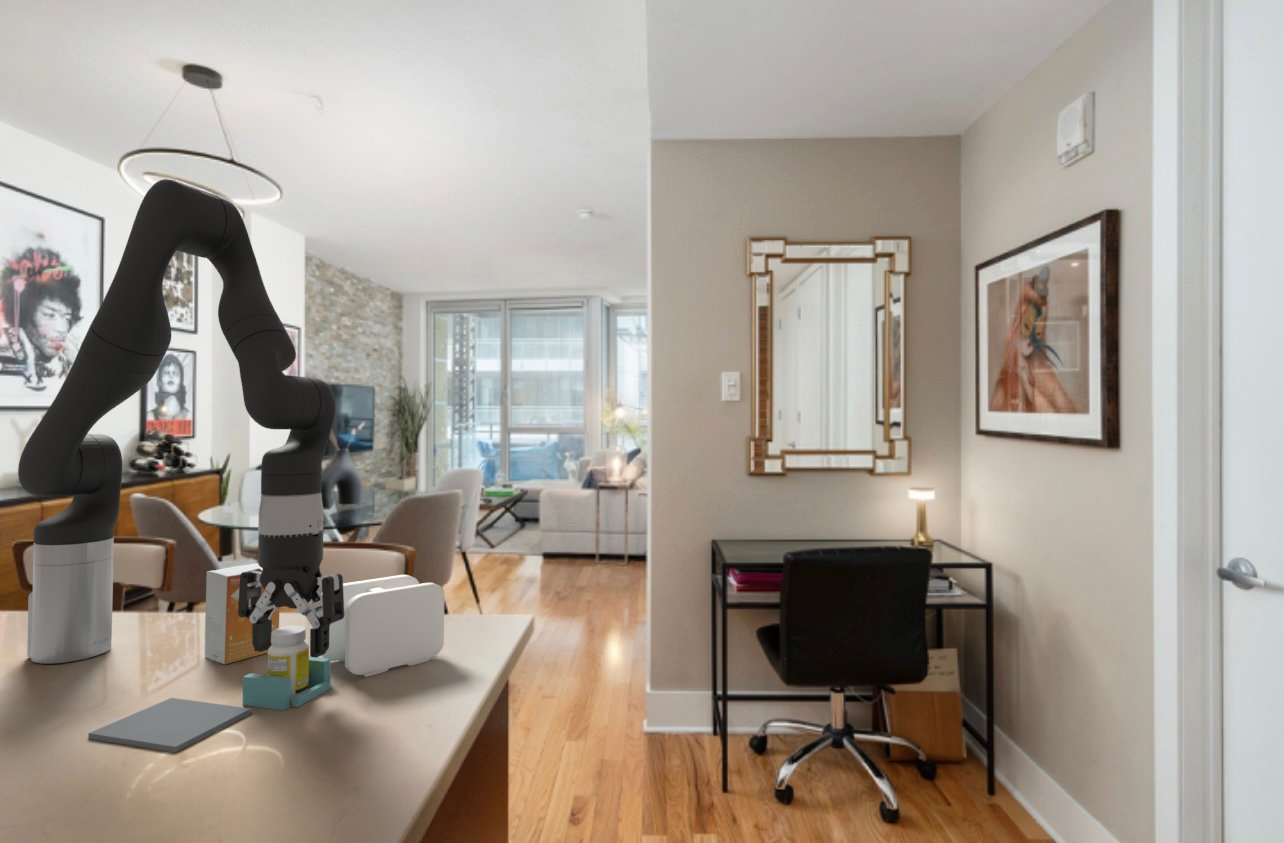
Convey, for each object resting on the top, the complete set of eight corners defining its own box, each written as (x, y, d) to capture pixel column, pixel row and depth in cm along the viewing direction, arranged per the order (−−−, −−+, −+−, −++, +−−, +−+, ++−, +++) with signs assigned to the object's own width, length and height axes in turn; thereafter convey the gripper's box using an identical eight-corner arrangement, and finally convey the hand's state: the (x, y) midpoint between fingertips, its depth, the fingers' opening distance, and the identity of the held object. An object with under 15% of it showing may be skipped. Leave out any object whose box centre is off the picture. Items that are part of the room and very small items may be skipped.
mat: (88, 738, 74) (88, 733, 74) (171, 702, 84) (171, 697, 84) (175, 752, 71) (175, 746, 71) (250, 713, 81) (250, 708, 81)
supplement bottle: (304, 684, 90) (305, 622, 90) (312, 696, 86) (313, 631, 86) (263, 693, 87) (265, 628, 87) (270, 705, 83) (271, 638, 83)
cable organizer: (342, 684, 90) (343, 599, 90) (315, 664, 98) (317, 585, 98) (444, 659, 101) (445, 582, 101) (413, 642, 108) (414, 570, 108)
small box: (224, 666, 96) (226, 576, 97) (203, 657, 100) (205, 570, 100) (280, 650, 103) (281, 566, 103) (258, 642, 107) (260, 561, 107)
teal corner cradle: (235, 703, 83) (236, 675, 83) (286, 679, 92) (286, 653, 92) (289, 711, 82) (290, 682, 82) (336, 685, 90) (336, 659, 90)
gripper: (222, 530, 85) (221, 658, 85) (317, 534, 81) (316, 667, 81) (268, 522, 92) (267, 639, 92) (357, 526, 89) (356, 648, 89)
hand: (290, 652), depth 87 cm, fingers open, 8 cm apart
